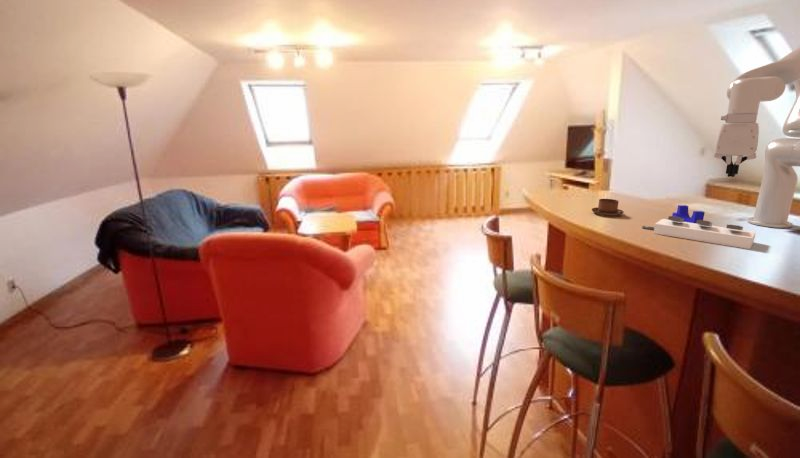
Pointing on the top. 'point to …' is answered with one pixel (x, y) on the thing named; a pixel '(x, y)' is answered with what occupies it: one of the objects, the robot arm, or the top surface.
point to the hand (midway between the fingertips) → (731, 176)
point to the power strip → (704, 233)
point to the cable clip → (684, 214)
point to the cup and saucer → (608, 208)
